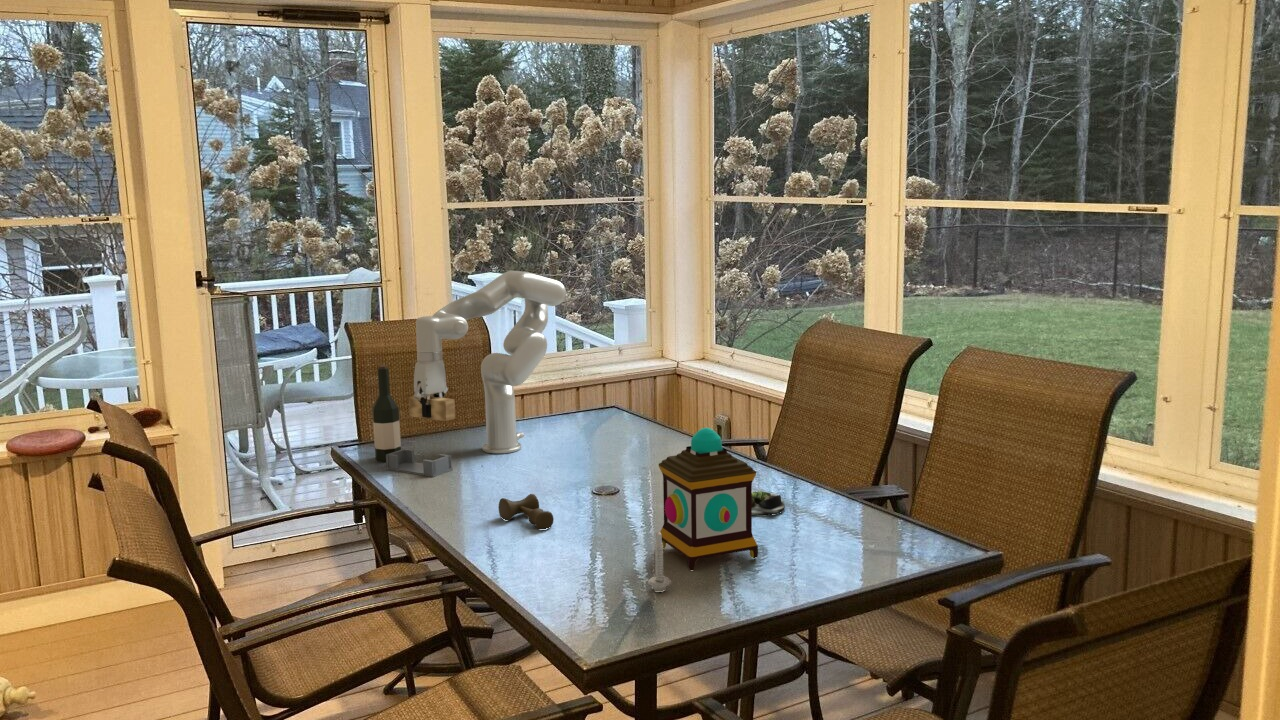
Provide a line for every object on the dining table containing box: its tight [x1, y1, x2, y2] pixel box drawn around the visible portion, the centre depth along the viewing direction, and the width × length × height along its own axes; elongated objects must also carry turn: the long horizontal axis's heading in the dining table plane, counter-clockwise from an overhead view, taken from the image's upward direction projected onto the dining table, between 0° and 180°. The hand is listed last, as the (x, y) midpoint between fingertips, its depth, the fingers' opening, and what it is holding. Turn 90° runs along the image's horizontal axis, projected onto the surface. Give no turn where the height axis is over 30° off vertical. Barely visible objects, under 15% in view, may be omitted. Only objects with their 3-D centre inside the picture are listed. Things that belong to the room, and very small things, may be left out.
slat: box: [408, 395, 456, 422], centre depth 318 cm, size 15×4×6 cm, turn 59°
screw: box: [647, 531, 672, 591], centre depth 217 cm, size 13×5×5 cm
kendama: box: [497, 493, 554, 530], centre depth 265 cm, size 6×10×20 cm
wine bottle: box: [371, 364, 402, 463], centre depth 326 cm, size 8×8×30 cm
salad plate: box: [752, 490, 786, 516], centre depth 272 cm, size 19×18×5 cm
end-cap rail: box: [385, 447, 453, 478], centre depth 315 cm, size 19×8×5 cm, turn 59°
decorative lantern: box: [658, 427, 759, 571], centre depth 237 cm, size 20×20×30 cm
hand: (432, 415), depth 319 cm, fingers closed on slat, 4 cm apart
